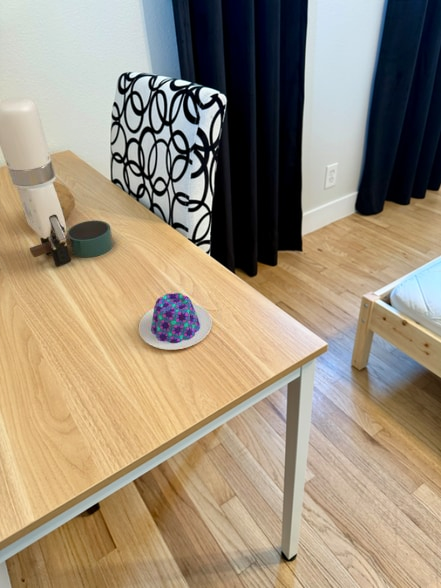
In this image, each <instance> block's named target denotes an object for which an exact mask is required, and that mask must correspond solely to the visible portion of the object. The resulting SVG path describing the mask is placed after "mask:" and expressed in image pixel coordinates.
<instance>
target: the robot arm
mask: <svg viewBox="0 0 441 588" xmlns="http://www.w3.org/2000/svg"><path fill="white" fill-rule="evenodd" d="M0 150H1V153H2V155H3V159H4V162H5V165H6V167H7V171H8V173H9V176H10V178H11V182H12V185H13V186H14V187H15V188H17V191H18V195H19V198H20V199H19V200H20V203H21V206H22V209H23V213H24V216H25V220H26V223H27V224H28V226H29V227H30V228H31V229H32V230H33V231H34V232H35V233H36V234H37V235H38V236H39V237H40V238H39V239H40V242H41V243H40V244H43V243H45V242H48V241H49V242H50V244H51V247H52V248H51V249H50V250H51V252H49V253H46V254H45V255H46V256H52V260H53V262H54V265H55V266H56V267H60V266H62V265H66V264H68V263H70V262H71V261H72V258H71V254H70V251H69V248H68V247H69V246H67V243H66V237H65V236H66V235H65V232H67V224H66V221H65V219H64V216H63V212H62V209H61V206H60V203H59V200H58V197H57V193H56V191H55V188H54V185H53V182H55V181H56V179H57V177H56V172H55V168H54V165H53V161H52V158H51V153H50V151H49V147H48V143H47V140H46V135H45V132H44V128H43V125H42V120H41V117H40V114H39V111H38V108H37V105H36V104H35V103H34V102H33V101H32V100H31V99H29V98H24V97H13V98H12V97H11V98H4V99H0ZM54 239H55V240H54ZM53 240H54V241H53Z"/></svg>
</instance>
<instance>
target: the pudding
mask: <svg viewBox="0 0 441 588" xmlns="http://www.w3.org/2000/svg"><path fill="white" fill-rule="evenodd" d="M212 326H213V319H212V316H211V314H210V313H209V312H208V311H207V310H206V309H205V308H204V307H202V306H201V305H199V304H196V303H193V302H192V300H191V298H190V297H189V296H188V295H183V293H181V292H175V293H171V292H170V293H166V294H164V295H163V296H160V297H159V298H157V300H156V301H155V304H154V307H152V308H151V309H149V310H148V311H147V312H146V313H145V314H144V315H143V316H142V317H141V319H140V321H139V324H138V333H139V335H140V337H141V339H142V340H143V341H144V343H146V344H148V345H150V346H151V347H154V348H156V349H161V350H166V351H167V350H170V351H172V350H174V351H175V350H182V349H185V348H190V347H191V346H195V345H196V344H198V343H200V342H201V341H203V340H204V339H205V338H206V337H207V336H208V335H209V333H210V331H211V330H212Z"/></svg>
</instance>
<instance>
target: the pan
mask: <svg viewBox="0 0 441 588" xmlns="http://www.w3.org/2000/svg"><path fill="white" fill-rule="evenodd" d="M65 237H66V243H67V247H69V248H70V251H71V253H72V255H74V256H76V257H79V258H85V259H87V258H94V257H99V256H102V255H105V254H107V253H109V252H110V251H112V249H113V247H114V244H115V243H114V239H113V233H112V229H111V225H110V224H109V223H108V222H105V221H103V220H85V221H81V222H79V223H76V224H74V225H72V226H71V227H70V228H69V229H68V230H66V235H65ZM54 240H55V239H54ZM54 240H53V241H54ZM51 248H52V247H51V244H50V242H49V241H48V242H45V243H43V244H42V243H39V244H37V245H33V246H31V247H29V252H30V254H31V256H32V257H33V258H38V257H40V256H41V257H42V256H44V255H46V253H49V252H51V250H50V249H51Z"/></svg>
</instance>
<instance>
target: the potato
mask: <svg viewBox="0 0 441 588" xmlns="http://www.w3.org/2000/svg"><path fill="white" fill-rule="evenodd" d="M53 185H54V188H55V191H56V193H57V197H58V200H59V203H60V206H61V209H62V212H63V216H64V219H65V222H67V220H68V219H69V217H70V216H71V214H72V212H73V210H74V209H75V207H76V198H75V196H74V195H73V194H72V192H71V191H70V190H69V188H68V187H67V186H66V185H65V184H62V183H60V182H57V181H56V182H55V181H53Z"/></svg>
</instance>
